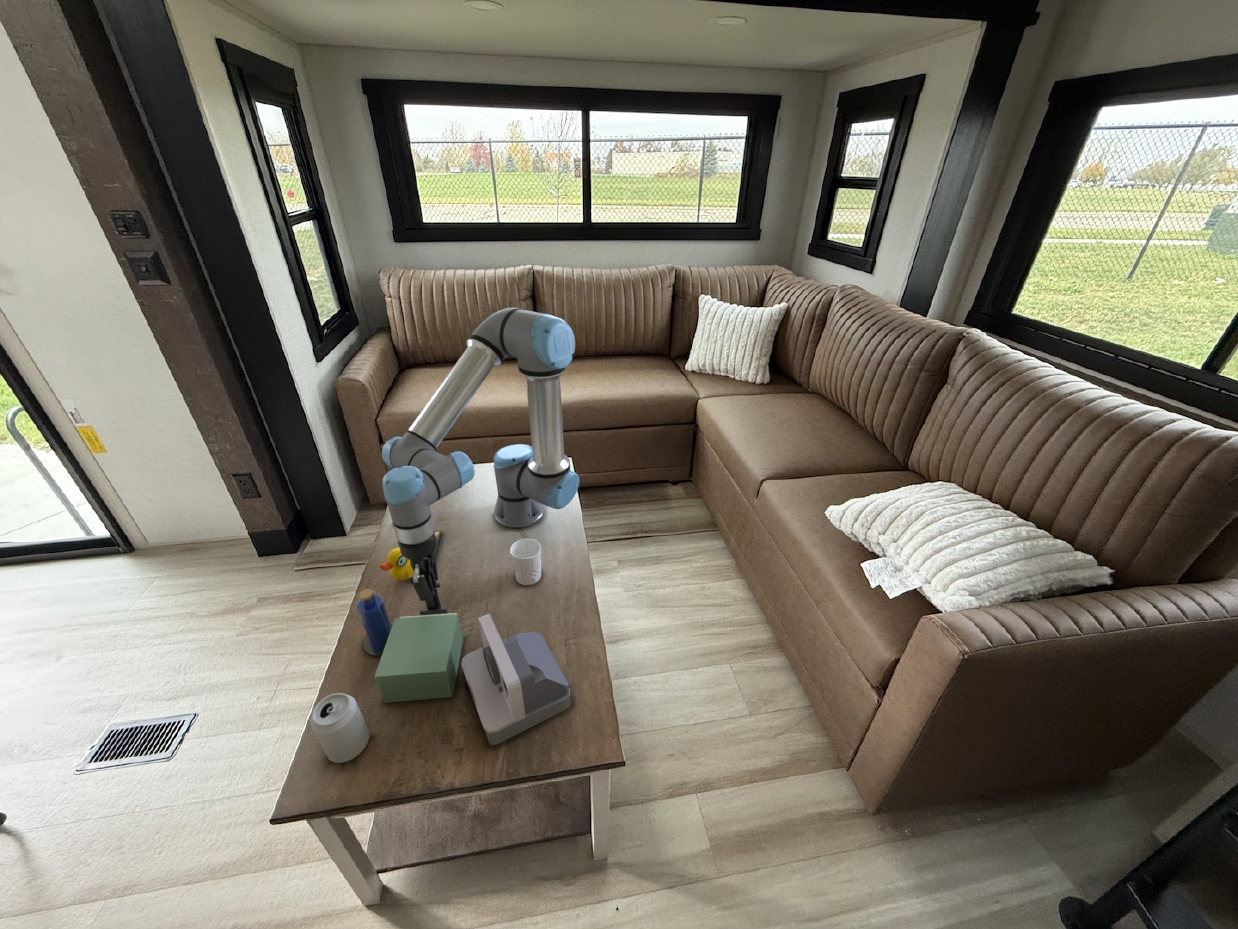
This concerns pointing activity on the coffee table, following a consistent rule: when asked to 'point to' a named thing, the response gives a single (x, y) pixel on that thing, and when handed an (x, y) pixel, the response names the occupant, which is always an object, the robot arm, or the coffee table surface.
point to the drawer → (432, 612)
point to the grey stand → (514, 682)
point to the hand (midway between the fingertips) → (435, 611)
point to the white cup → (526, 561)
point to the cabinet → (420, 658)
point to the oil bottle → (374, 618)
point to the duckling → (398, 565)
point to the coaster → (372, 651)
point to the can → (339, 727)
